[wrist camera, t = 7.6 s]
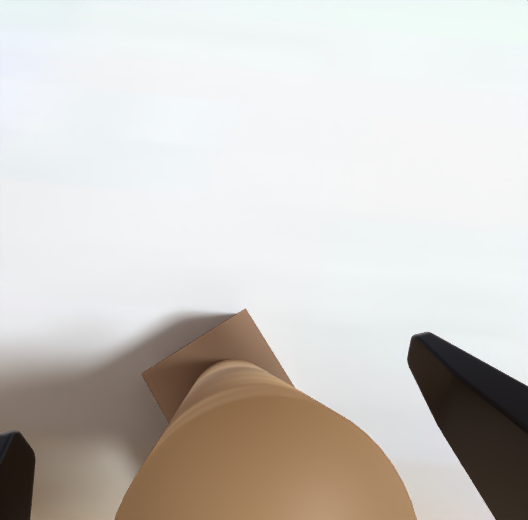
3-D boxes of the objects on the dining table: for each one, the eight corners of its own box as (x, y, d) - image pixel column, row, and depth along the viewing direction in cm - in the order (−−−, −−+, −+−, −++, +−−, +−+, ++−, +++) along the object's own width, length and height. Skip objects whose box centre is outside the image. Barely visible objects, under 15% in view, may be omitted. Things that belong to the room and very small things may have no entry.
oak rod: (227, 472, 15) (252, 862, 4) (170, 400, 16) (31, 560, 4) (294, 407, 16) (483, 570, 5) (238, 341, 17) (283, 334, 5)
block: (313, 646, 17) (332, 708, 14) (153, 369, 19) (141, 373, 16) (400, 570, 18) (435, 613, 15) (241, 313, 20) (245, 308, 17)
